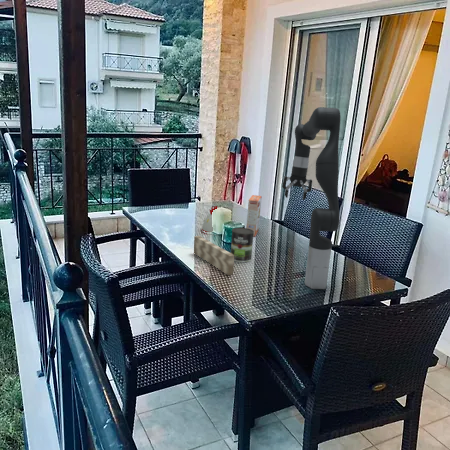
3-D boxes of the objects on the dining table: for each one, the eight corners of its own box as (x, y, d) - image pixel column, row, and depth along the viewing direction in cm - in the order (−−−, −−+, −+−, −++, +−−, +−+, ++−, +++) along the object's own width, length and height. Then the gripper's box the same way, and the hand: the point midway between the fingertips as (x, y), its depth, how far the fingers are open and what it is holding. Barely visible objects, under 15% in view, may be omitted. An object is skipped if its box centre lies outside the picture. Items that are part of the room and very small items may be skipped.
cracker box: (255, 237, 253) (258, 200, 247) (245, 235, 254) (248, 199, 248) (259, 230, 266) (262, 195, 260) (249, 229, 267) (251, 194, 262)
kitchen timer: (196, 230, 258) (198, 205, 254) (214, 226, 268) (215, 202, 264) (213, 236, 249) (215, 210, 245) (231, 232, 259) (232, 207, 254)
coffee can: (249, 263, 212) (251, 235, 208) (228, 260, 214) (229, 232, 211) (253, 256, 222) (255, 229, 218) (232, 253, 224) (234, 226, 220)
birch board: (233, 274, 198) (234, 255, 196) (228, 275, 197) (229, 255, 194) (198, 253, 222) (198, 235, 219) (193, 253, 220) (194, 236, 218)
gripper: (286, 164, 220) (281, 197, 223) (315, 168, 220) (310, 201, 223) (285, 163, 227) (280, 195, 230) (313, 167, 227) (307, 199, 230)
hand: (294, 198), depth 227 cm, fingers open, 8 cm apart
